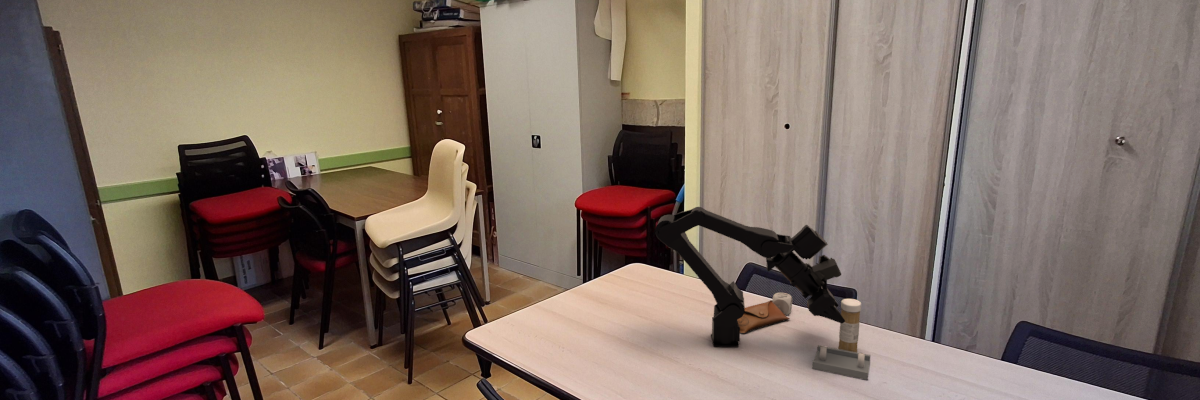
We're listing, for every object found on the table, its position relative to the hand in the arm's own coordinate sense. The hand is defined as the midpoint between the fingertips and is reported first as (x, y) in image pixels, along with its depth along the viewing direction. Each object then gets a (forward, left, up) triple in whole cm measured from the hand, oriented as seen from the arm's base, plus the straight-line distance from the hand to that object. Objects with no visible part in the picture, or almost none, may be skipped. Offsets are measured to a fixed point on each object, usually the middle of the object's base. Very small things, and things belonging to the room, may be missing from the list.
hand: (840, 314), depth 141 cm
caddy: (-2, -7, -10) cm, 12 cm away
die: (-8, +24, -10) cm, 27 cm away
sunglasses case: (-17, +16, -10) cm, 25 cm away
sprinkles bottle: (+2, 0, -10) cm, 10 cm away
